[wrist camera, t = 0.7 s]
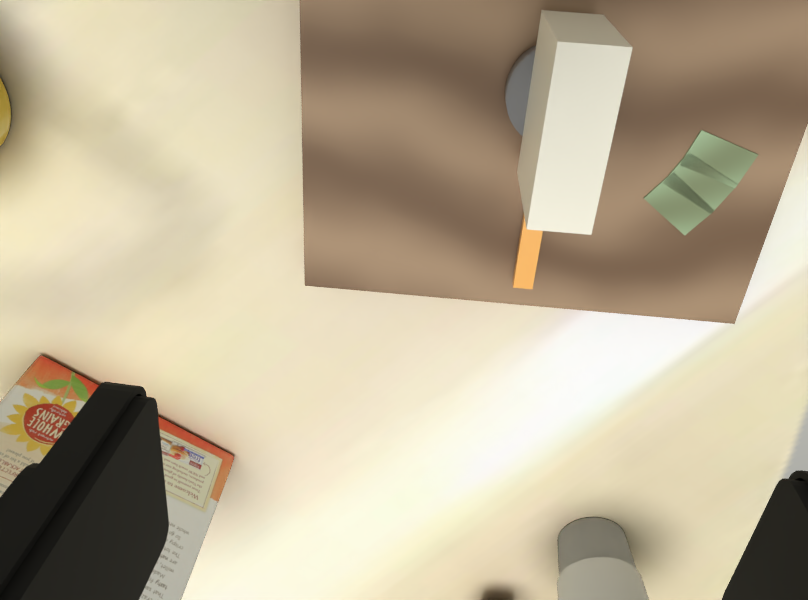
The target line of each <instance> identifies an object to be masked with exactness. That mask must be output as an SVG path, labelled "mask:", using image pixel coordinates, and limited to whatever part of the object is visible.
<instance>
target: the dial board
mask: <svg viewBox="0 0 808 600" xmlns="http://www.w3.org/2000/svg"><path fill="white" fill-rule="evenodd" d="M542 10H548V11H561V12H575V13H588V14H601V15H604V16H605V17H606V18H607V19H608V20H609V22H610V23H611V24H612V25H613V26H614V27H615V28H616V29H617V30H618V32H619V33H620V34H621V35H622V36H623V37H624V38H625V39H626V40H627V42H628V43H629V44H630V45H631V46H632V47H633V48H632V53H631V57H630V62H629V66H628V71H627V75H626V80H625V84H624V89H623V94H622V98H621V103H620V107H619V112H618V116H617V121H616V125H615V130H614V134H613V139H612V144H611V148H610V153H609V157H608V162H607V166H606V171H605V175H604V180H603V184H602V189H601V193H600V198H599V203H598V207H597V212H596V216H595V221H594V225H593V230H592V234H591V235H587V234H575V233H563V232H551V231H543V233H542V239H541V244H540V250H539V256H538V261H537V267H536V272H535V278H534V283H533V289H523V288H513V283H512V282H513V276H514V270H515V264H516V258H517V251H518V245H519V239H520V233H521V227H522V220H523V214H524V211H523V205H522V199H521V193H520V186H519V180H518V174H517V170H518V163H519V156H520V150H521V143H522V137H523V136H522V135H520V134H519V132H518V131H517V130H516V129H515V127H514V126H513V124H512V123H511V121H510V118H509V115H508V111H507V106H506V100H505V86H506V81H507V78H508V75H509V73H510V70H511V68H512V67H513V65H514V64H515V62H516V61H517V60H518V58H519V57H520V56H521V55H522V54H523V53H524V52H526V51H527V50H528V49H530V48H531V47H533V46H535V45H536V44H537V37H538V31H539V24H540V17H541V11H542ZM300 40H301V96H302V152H303V208H304V265H305V286H316V287H327V288H339V289H350V290H361V291H372V292H384V293H395V294H406V295H417V296H429V297H440V298H451V299H462V300H474V301H485V302H496V303H507V304H519V305H530V306H541V307H553V308H564V309H575V310H586V311H598V312H609V313H620V314H631V315H643V316H654V317H665V318H676V319H688V320H699V321H710V322H721V323H733V324H734V323H735V321H736V318H737V315H738V312H739V310H740V307H741V304H742V302H743V299H744V296H745V293H746V291H747V288H748V285H749V282H750V280H751V277H752V274H753V271H754V269H755V266H756V263H757V261H758V258H759V255H760V252H761V250H762V247H763V244H764V241H765V239H766V236H767V233H768V230H769V228H770V225H771V222H772V220H773V217H774V214H775V211H776V209H777V206H778V203H779V200H780V198H781V195H782V192H783V189H784V187H785V184H786V181H787V179H788V176H789V173H790V170H791V168H792V165H793V162H794V159H795V157H796V154H797V151H798V148H799V146H800V143H801V140H802V137H803V135H804V132H805V129H806V127H807V124H808V0H300Z"/></svg>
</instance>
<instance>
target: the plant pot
mask: <svg viewBox="0 0 808 600" xmlns="http://www.w3.org/2000/svg"><path fill="white" fill-rule="evenodd" d="M10 123H11V108H10V102H9V98H8V94H7V92H6V89H5V87H4V84H3V82H2V80H1V78H0V146H1V145H2V144H3V142H4V141H5V139H6V137H7V135H8V132H9V128H10Z"/></svg>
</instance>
